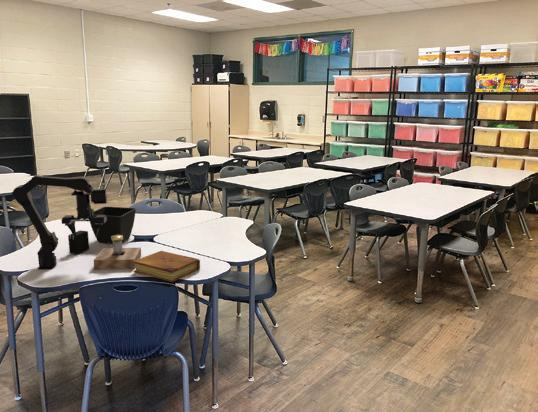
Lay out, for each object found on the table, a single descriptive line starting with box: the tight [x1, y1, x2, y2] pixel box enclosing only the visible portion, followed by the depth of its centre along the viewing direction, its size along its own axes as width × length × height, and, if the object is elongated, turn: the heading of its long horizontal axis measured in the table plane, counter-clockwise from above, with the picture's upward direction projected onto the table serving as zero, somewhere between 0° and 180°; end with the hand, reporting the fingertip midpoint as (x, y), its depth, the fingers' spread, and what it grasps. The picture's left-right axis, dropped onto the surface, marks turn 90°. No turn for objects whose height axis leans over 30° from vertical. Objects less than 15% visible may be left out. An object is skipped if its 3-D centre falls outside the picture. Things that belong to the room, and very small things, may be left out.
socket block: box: [93, 247, 142, 271], centre depth 218 cm, size 18×18×4 cm
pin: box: [111, 235, 123, 256], centre depth 217 cm, size 5×5×13 cm
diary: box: [133, 250, 201, 283], centre depth 209 cm, size 23×19×6 cm
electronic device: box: [67, 230, 90, 256], centre depth 233 cm, size 4×10×10 cm, turn 164°
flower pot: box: [89, 206, 137, 245], centre depth 252 cm, size 19×19×17 cm
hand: (85, 237), depth 214 cm, fingers open, 9 cm apart
